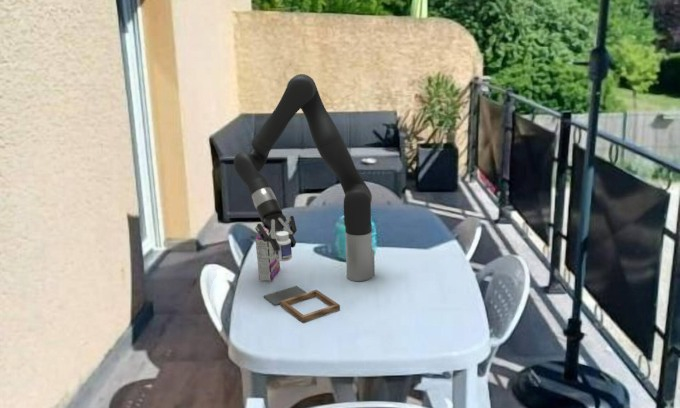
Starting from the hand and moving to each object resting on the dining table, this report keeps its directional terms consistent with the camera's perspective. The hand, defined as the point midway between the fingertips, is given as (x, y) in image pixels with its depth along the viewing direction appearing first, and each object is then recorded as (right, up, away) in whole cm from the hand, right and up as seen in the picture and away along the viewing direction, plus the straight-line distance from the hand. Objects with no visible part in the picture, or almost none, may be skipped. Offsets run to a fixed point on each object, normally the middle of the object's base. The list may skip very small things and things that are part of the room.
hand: (286, 248), depth 210 cm
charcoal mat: (-1, -17, +7) cm, 18 cm away
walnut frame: (+8, -19, -1) cm, 21 cm away
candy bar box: (-8, -12, +24) cm, 28 cm away
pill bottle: (-1, -4, +3) cm, 5 cm away
